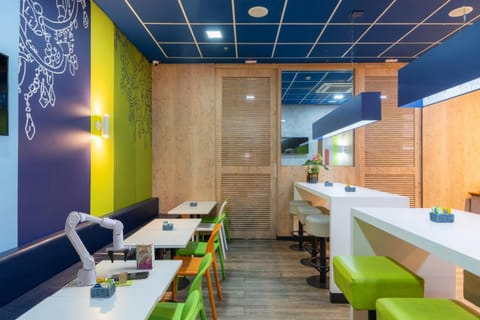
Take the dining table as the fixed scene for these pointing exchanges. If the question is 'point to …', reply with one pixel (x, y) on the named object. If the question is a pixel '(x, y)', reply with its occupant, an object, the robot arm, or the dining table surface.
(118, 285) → the green rubber pad
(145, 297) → the dining table surface
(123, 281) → the brass nut block
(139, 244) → the candy bar box
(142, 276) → the graphite rail
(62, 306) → the dining table surface
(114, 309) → the dining table surface
